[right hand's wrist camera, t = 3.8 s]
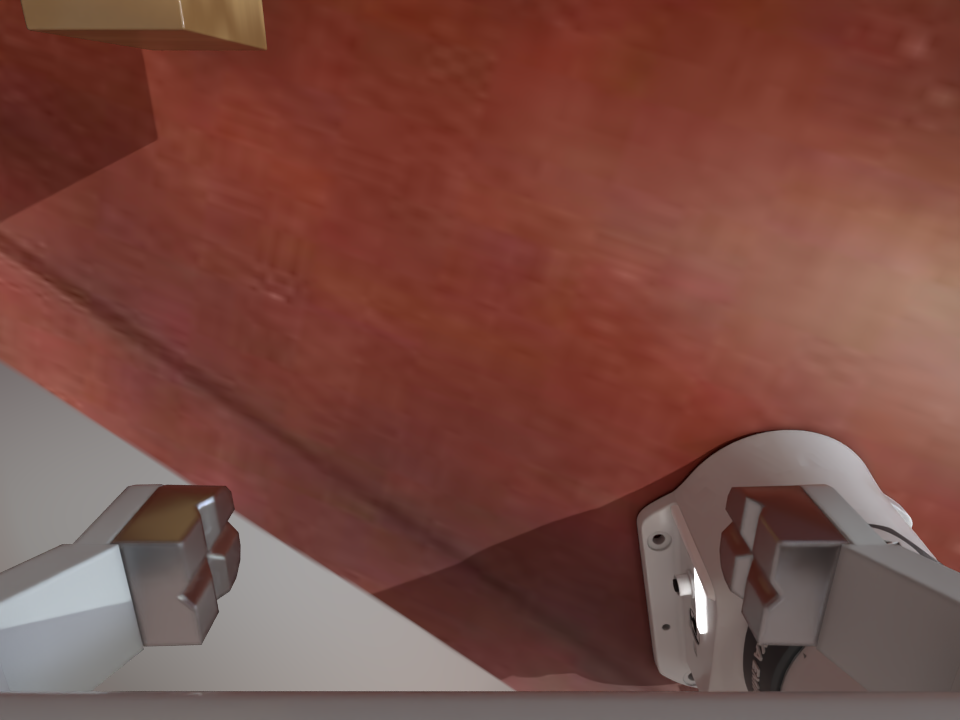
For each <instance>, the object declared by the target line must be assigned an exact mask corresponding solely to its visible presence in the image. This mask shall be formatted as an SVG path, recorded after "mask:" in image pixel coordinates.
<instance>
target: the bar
mask: <svg viewBox="0 0 960 720" xmlns="http://www.w3.org/2000/svg"><path fill="white" fill-rule="evenodd" d="M20 1H21V5H22V9H23V13H24V18H25V22H26V26H27V29H28V30H31V31H37V32H44V33H50V34H56V35H62V36H68V37H74V38H81V39H87V40H93V41H99V42H105V43H111V44H118V45H124V46H130V47H136V48H142V49H148V50H267V45H266V35H265V26H264V17H263V8H262V0H20Z"/></svg>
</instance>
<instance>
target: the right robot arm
mask: <svg viewBox="0 0 960 720" xmlns="http://www.w3.org/2000/svg"><path fill="white" fill-rule="evenodd" d="M234 510H235V508H234V503H233V498H232V493H231V491H230V490H229V489H228V488H227V487H226V486H203V485H162V484H154V485H133V486H128V487H127V488H126V489H125V490H124V491H123V492H122V493H121V494H120V495H119V496H118V497H117V498H116V499H115V500H114V501H113V503H111V505H110V506H109V507H108V508H107V509H106V510H105V511H104V512H103V513H102V514H101V515H100V516H99V517H98V518H97V519H96V520H95V521H94V522H93V523H92V524H91V525H90V526H89V528H88V529H87V530H86V531H85V532H84V533H83V534H82V535H81V536H80V537H79V538H78V539H77V540H76V541H75V542H74V543H73V544H62V545H60V546H58V547H55V548H53V549H51V550H49V551H47V552H45V553H42V554H40V555H38V556H36V557H34V558H31V559H29V560H27V561H25V562H23V563H21V564H18V565H16V566H14V567H12V568H10V569H8V570H5V571H3V572H1V573H0V720H960V573H959V572H957V571H954V570H952V569H950V568H948V567H946V566H944V565H943V564H941V563H940V562H939V561H937V559H936V558H935V557H934V556H933V554H932V553H931V552H930V551H929V549H928V548H927V547H926V546H925V544H924V543H923V542H922V541H921V540H920V538H919V537H918V536H917V535H916V533H915V532H914V531H913V530H912V529H911V528H912V520H911V518H910V516H909V515H908V514H907V513H906V511H905V510H904V509H903V508H902V507H901V506H900V505H899V504H898V503H897V502H895V501H894V500H893V499H891V498H890V497H888V496H887V495H885V494H883V493H882V491H881V490H880V488H879V487H878V485H877V484H876V482H875V480H874V479H873V477H872V475H871V474H870V472H869V470H868V469H867V467H866V465H865V464H864V463H863V461H862V460H861V459H860V458H859V457H858V455H857V454H855V453H854V452H853V451H852V450H851V449H850V448H848V447H847V446H846V445H844V444H842V443H841V442H839V441H837V440H835V439H833V438H830V437H828V436H825V435H822V434H818V433H814V432H809V431H802V430H777V431H770V432H764V433H759V434H756V435H752V436H749V437H746V438H743V439H741V440H738V441H736V442H734V443H731V444H729V445H727V446H726V447H724V448H722V449H720V450H719V451H717V452H716V453H714V454H713V455H711V456H710V457H709V458H707V459H706V460H705V461H704V462H702V463H701V464H700V465H699V466H698V467H697V468H696V469H695V470H694V471H693V472H692V473H691V474H690V475H689V477H688V478H687V479H686V480H685V481H684V482H683V483H682V484H681V485H680V486H679V487H678V488H677V489H676V490H674V491H673V492H671V493H669V494H667V495H665V496H664V497H662V498H660V499H658V500H656V501H654V502H652V503H651V504H649V505H648V506H646V507H645V508H644V509H642V510H641V512H640V513H639V514H638V517H637V529H638V537H639V545H640V553H641V561H642V569H643V577H644V585H645V593H646V600H647V608H648V616H649V624H650V632H651V640H652V648H653V655H654V660H655V664H656V666H657V668H658V670H659V672H660V673H661V674H662V675H663V676H665V677H667V678H669V679H671V680H673V681H675V682H677V683H680V684H683V685H686V686H690V687H694V688H698V690H699V691H92V690H94V689H95V688H96V687H97V686H99V685H100V684H101V683H102V682H104V681H105V680H106V679H107V678H109V677H110V676H111V675H112V674H114V673H115V672H116V671H117V670H119V669H120V668H121V667H122V666H124V665H125V664H126V663H127V662H129V661H130V660H131V659H132V658H134V657H135V656H136V655H137V654H139V653H140V652H141V651H142V650H143V649H144V647H143V646H176V645H201V644H202V643H203V641H204V639H205V637H206V635H207V633H208V631H209V629H210V628H211V626H212V624H213V622H214V620H215V618H216V616H217V614H218V613H219V610H218V604H217V599H219V598H220V597H222V596H223V595H225V594H226V593H228V592H229V591H230V590H231V588H232V586H233V583H234V581H235V579H236V577H237V572H238V568H239V563H240V539H239V533H238V531H237V530H236V529H235V528H234V527H233V526H232V525H231V524H230V523H229V522H228V519H229V518H230V516H231V514H232V513H233V511H234ZM657 534H661V536H660V537H658V538H653V537H654V536H655V535H657Z"/></svg>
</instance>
